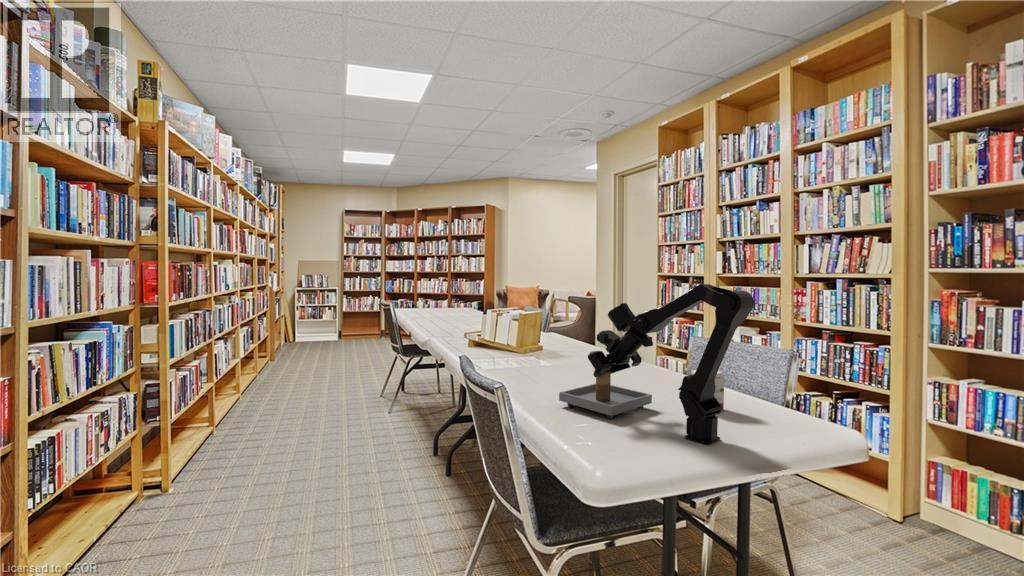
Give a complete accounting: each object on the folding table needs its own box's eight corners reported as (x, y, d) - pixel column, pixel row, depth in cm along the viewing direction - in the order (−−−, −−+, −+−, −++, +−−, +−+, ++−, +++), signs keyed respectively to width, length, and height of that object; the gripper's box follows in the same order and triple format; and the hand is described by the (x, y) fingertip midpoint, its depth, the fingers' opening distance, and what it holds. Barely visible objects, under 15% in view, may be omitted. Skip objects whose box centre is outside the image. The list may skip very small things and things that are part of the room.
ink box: (718, 407, 150) (719, 370, 150) (723, 412, 145) (725, 373, 145) (689, 406, 151) (690, 369, 150) (694, 411, 146) (695, 372, 146)
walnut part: (612, 401, 146) (612, 365, 146) (598, 402, 145) (598, 365, 145) (607, 397, 150) (607, 362, 150) (593, 398, 150) (594, 363, 149)
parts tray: (651, 408, 148) (651, 394, 148) (611, 422, 135) (611, 406, 134) (599, 395, 163) (599, 382, 163) (559, 406, 150) (559, 392, 149)
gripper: (634, 320, 149) (606, 350, 159) (592, 324, 138) (565, 356, 147) (655, 349, 143) (625, 379, 153) (613, 355, 132) (583, 387, 141)
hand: (600, 374), depth 149 cm, fingers open, 5 cm apart
